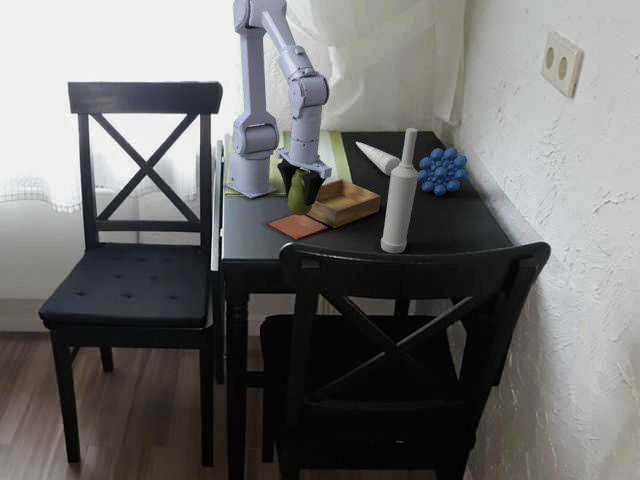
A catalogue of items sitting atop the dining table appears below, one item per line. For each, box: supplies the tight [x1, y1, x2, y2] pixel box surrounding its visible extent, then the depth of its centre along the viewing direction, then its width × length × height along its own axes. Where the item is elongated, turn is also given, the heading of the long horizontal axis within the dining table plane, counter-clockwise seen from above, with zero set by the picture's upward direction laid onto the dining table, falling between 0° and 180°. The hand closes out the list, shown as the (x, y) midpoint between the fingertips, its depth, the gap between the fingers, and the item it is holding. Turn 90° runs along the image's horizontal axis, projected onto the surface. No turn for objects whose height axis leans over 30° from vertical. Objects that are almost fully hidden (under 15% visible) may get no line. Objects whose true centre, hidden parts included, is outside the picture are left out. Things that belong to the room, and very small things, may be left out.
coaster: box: [268, 214, 328, 241], centre depth 163 cm, size 9×9×1 cm
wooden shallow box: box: [306, 178, 382, 229], centre depth 169 cm, size 12×14×4 cm
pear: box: [287, 168, 313, 216], centre depth 158 cm, size 6×5×10 cm
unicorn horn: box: [355, 141, 402, 177], centre depth 195 cm, size 5×24×5 cm, turn 10°
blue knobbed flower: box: [417, 147, 469, 197], centre depth 175 cm, size 12×7×12 cm, turn 59°
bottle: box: [380, 127, 419, 254], centre depth 148 cm, size 5×5×25 cm
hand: (300, 199), depth 159 cm, fingers closed on pear, 5 cm apart
